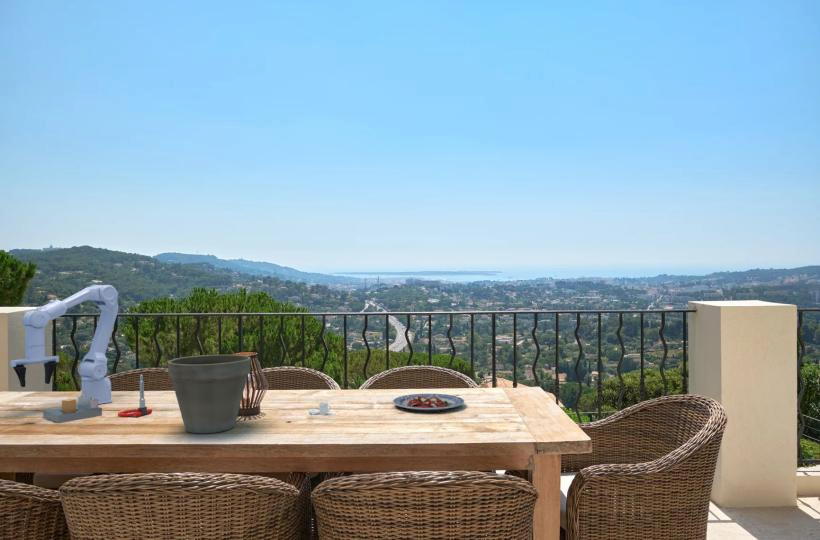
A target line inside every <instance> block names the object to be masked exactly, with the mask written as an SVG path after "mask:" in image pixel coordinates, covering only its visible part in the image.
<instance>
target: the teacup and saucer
mask: <svg viewBox="0 0 820 540" xmlns="http://www.w3.org/2000/svg"><path fill="white" fill-rule="evenodd" d="M331 408H332V407H331V405H330V404H329V403H328V402H319V403H318V409H316V408H310V409H309V410H308V414H309V415H311V416H312V417H315V418H321V416H323V418H328V417H334V416H335V415H336V413H335V412H333V411H331ZM328 414H330V415H328ZM318 415H319V416H318Z"/></svg>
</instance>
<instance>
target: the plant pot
mask: <svg viewBox="0 0 820 540" xmlns="http://www.w3.org/2000/svg"><path fill="white" fill-rule="evenodd" d="M251 362H252V358H251V357H250V356H247V355H242V354H241V355H240V354H207V355H206V354H205V355H204V354H203V355H193V356H190V355H189V356H183V357H178V358H177V357H176V358H173V359H170V360H169V361H167V372H168V373H167V375H168V378H169V379H171V381H172V385H173V389H174V392H175V396H176V397H175V398H176V400H177V404H178V407H179V411H180V416H181V419H182V422H183V426H184V428H185V430H186V432H188V433H191V434H214V433H221V432H225V431H226V432H227V431H230V430H231V429H233V428H234V427H235V425H236V422H237V418H238V415H239V411H240V407H241V403H242V399H243V396H244V391H245V388H246V383H247V379H248V375H249V374H250V373H251V369H252V368H251V367H252V366H251V364H252V363H251Z"/></svg>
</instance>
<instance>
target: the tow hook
mask: <svg viewBox="0 0 820 540" xmlns="http://www.w3.org/2000/svg"><path fill="white" fill-rule="evenodd" d="M143 377H144V375H143V374H139V400H138V401H139V407H138V408H135V409H134V408H133V409H127V410H126V409H125V410H121V411H119V412H118V413H117V416H118V417H121V418H122V417H125V418H126V417H133V418H138V417H143V416H145V415H150V414H152V413H153V409H152V408H148V407H147V406H146V399H145V386H144V384H145V382H144V378H143Z"/></svg>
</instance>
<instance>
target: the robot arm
mask: <svg viewBox="0 0 820 540" xmlns="http://www.w3.org/2000/svg"><path fill="white" fill-rule="evenodd" d="M118 297H119V292H118V291H117V290H116V288H115V287H114V286H113V285H111V284H105V285H104V284H92V285H90V286H87V287H85V288H84V289H82V290H80V291H78V292H76V293H74V294H73V295H70V296H68V297H66V298H64V299H63V300H60V299H51V300H49V302H48V303H47V304H45V305H42V306H38V307H36V309H35V310H28V311H27V312H26V313H24V315H23V317H22V318H21V323H22V324H23V325H24V327H25V334H24V335H25V336H24V337H25V338H24V339H25V340H24V341H25V342H24V343H25V358H21V359H13V360H10V367H12V368H13V370H14V371H15V374H16V375H17V378H18V380H19V381H18V382H19V384H20V388H26V372H27V367H25V366H30V365H38V364H43V366H44V383H45V384H46V385H49V384H50V383H51V379H52V376H53V373H54V372H55V369H56V367H57V365H58V363H59V362H60V356H59V355H52V356H46V344H45V343H46V340H45V339H46V338H45V336H46V333H45V330H46V327H45V326H47V325H48V324H49V322H51V321H53V320H55V319H57V318H59V317H61V316H63V315H65V314H66V313H67V310H68V309H69V308H71V307H74V306H76V305H78V304H79V305H80V304H82V303H84V302H86V301H88V300H89V301H91V302H92V303H94V304H95V305H97V307H98V308H99V310H100V315H99V319H98V322H97V324H96V328H95V332H94V336H93V338H92V342H91V345H90V347H89V351H88V352H87V353H86V354H85V355H84V356H83V358H82V361H81V362H80V363H79V365H78V366H77V373H78V374H79V375H80V377H81V395H86V396H88V397H95V399H98V405H101V404H107V403H112V402H113V400H112V382H111V379H110V378H108V377H105V376H106V375H107V373H108V366H107V365H108V358H107V357H106V352H107V349H108V345H109V343H110V339H111V336H112V332H113V329H114V325H115V322H116V319H117V315H118V314H119V313H118V312H119V303H118ZM76 404H78V401H76Z"/></svg>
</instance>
